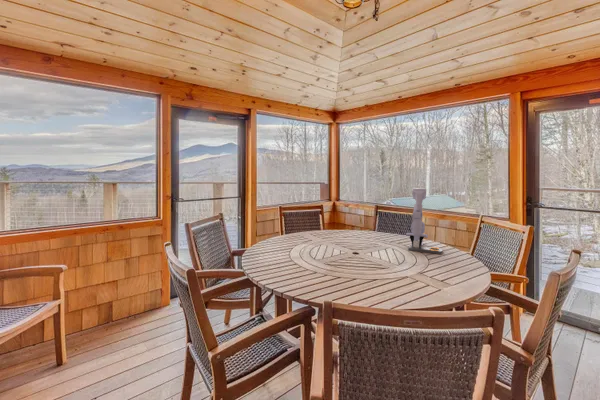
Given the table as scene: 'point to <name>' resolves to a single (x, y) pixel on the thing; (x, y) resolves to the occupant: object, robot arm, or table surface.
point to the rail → (426, 249)
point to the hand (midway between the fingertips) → (416, 246)
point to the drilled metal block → (416, 243)
